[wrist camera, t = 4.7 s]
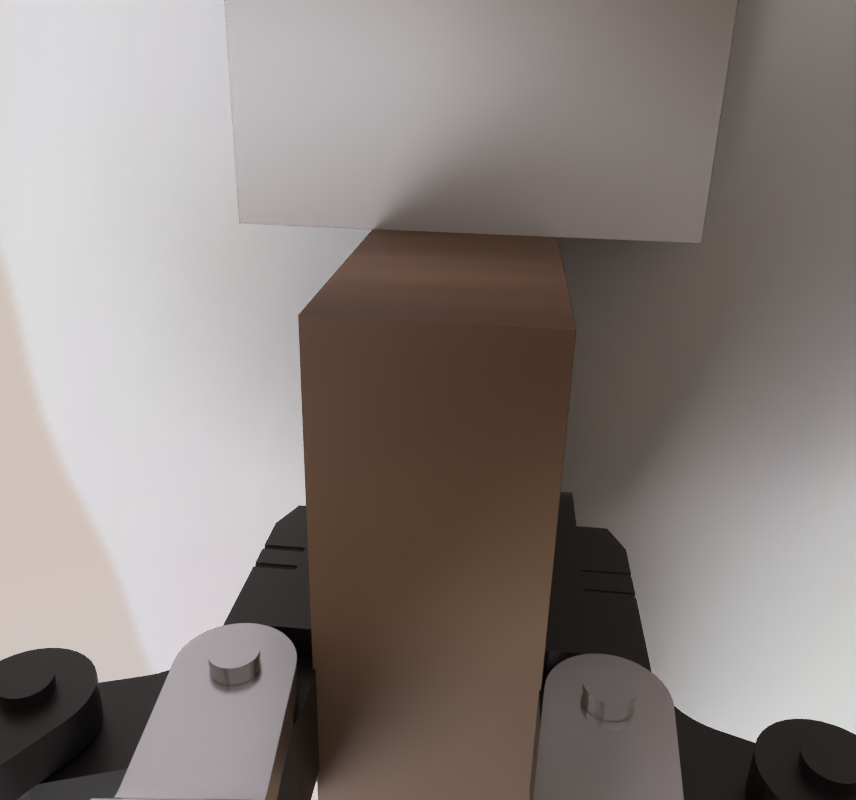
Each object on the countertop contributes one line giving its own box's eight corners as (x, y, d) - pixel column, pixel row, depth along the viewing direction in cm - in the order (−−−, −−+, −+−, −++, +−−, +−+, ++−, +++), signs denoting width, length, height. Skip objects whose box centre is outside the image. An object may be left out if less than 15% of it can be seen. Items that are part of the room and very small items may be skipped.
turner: (598, 863, 16) (625, 1154, 11) (290, 829, 16) (210, 1096, 12) (816, -606, 8) (1149, -1359, 4) (204, -579, 8) (-108, -1208, 4)
